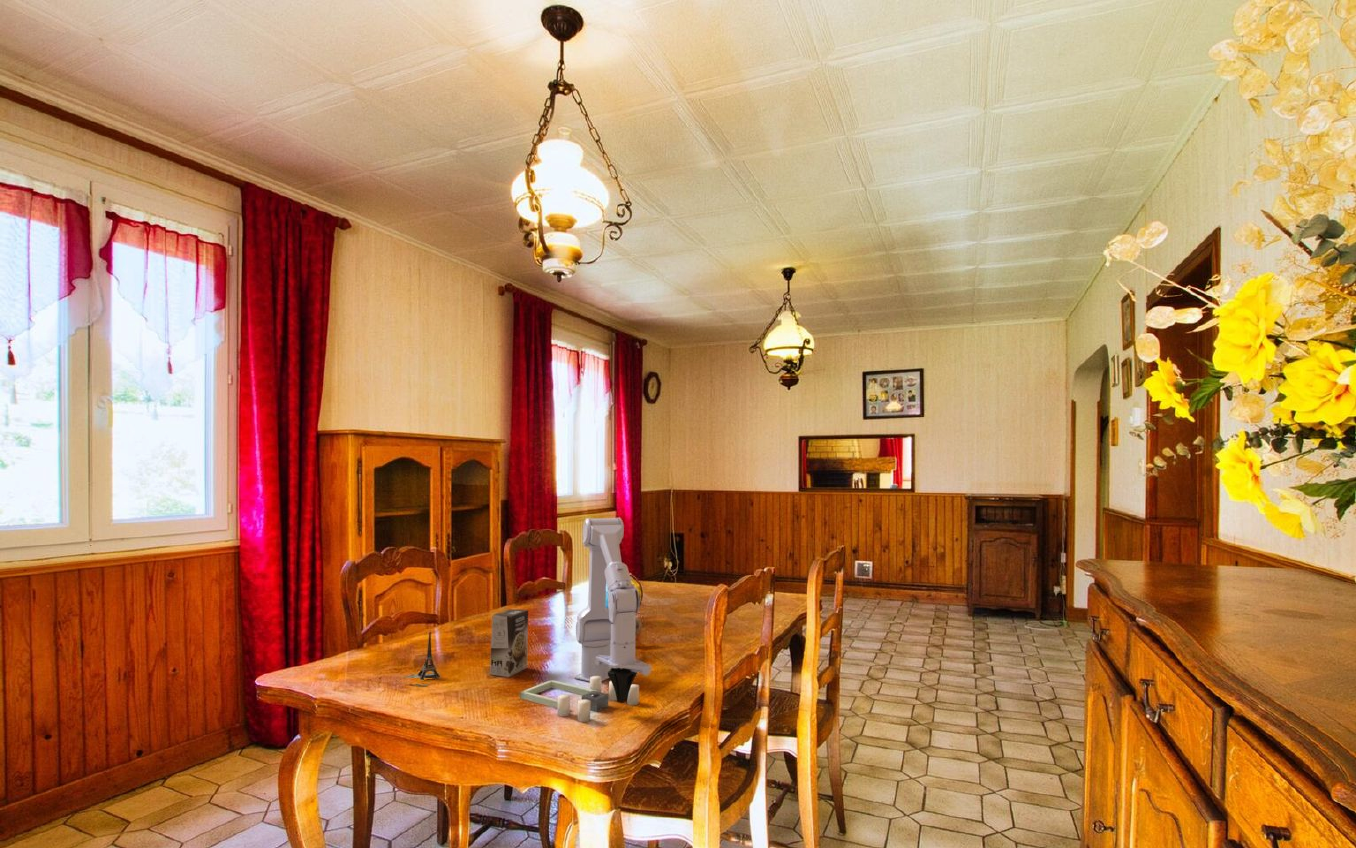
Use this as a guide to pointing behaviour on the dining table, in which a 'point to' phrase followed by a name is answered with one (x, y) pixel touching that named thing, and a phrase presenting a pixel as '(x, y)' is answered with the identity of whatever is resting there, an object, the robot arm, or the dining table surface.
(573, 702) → the dining table surface
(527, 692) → the frame
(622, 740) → the dining table surface
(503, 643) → the coffee box
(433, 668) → the eiffel tower figurine
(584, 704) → the posts
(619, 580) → the robot arm
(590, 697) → the push button box
